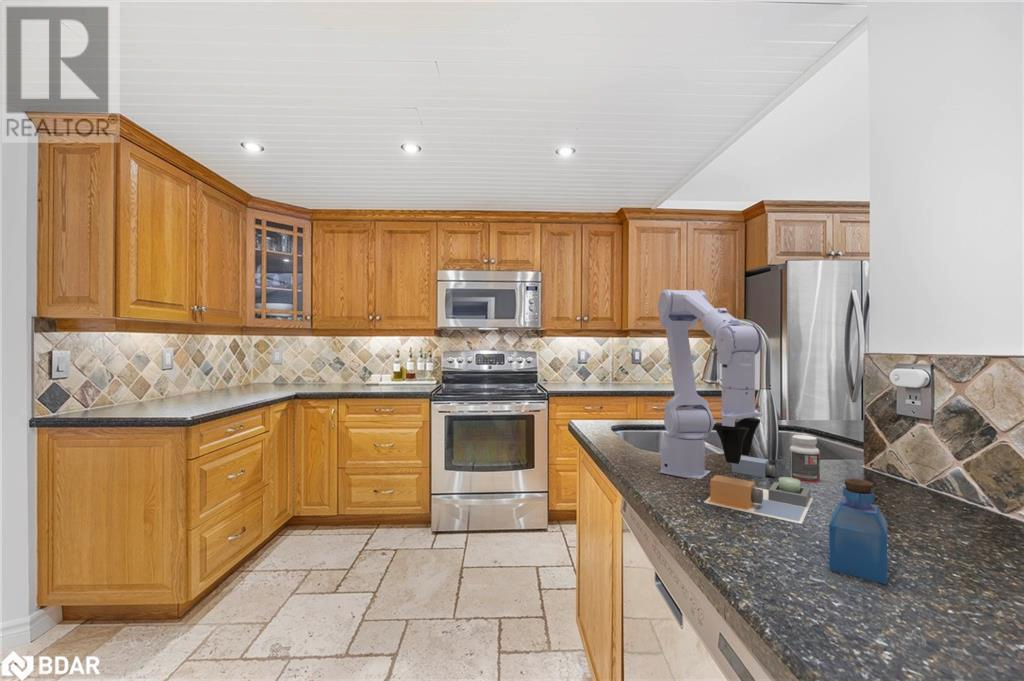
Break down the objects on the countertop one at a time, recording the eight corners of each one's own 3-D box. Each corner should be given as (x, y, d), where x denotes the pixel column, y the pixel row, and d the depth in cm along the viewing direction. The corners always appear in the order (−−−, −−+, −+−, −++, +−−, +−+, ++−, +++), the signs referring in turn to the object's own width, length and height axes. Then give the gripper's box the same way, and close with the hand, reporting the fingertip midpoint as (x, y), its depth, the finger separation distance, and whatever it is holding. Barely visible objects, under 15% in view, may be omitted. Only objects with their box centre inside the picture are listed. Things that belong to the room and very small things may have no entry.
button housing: (768, 500, 88) (768, 489, 88) (774, 491, 93) (774, 481, 93) (806, 507, 84) (806, 496, 84) (810, 498, 89) (810, 488, 89)
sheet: (703, 505, 87) (703, 502, 87) (725, 484, 99) (725, 482, 99) (801, 527, 77) (801, 523, 77) (813, 501, 89) (813, 498, 89)
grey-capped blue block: (731, 475, 107) (731, 458, 107) (736, 471, 110) (736, 454, 110) (772, 482, 102) (772, 464, 102) (776, 478, 105) (776, 460, 105)
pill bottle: (825, 485, 99) (825, 439, 99) (799, 485, 99) (799, 439, 99) (809, 477, 105) (809, 434, 105) (784, 477, 105) (784, 434, 105)
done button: (777, 490, 89) (777, 480, 89) (780, 485, 91) (780, 475, 91) (799, 494, 86) (799, 483, 86) (801, 489, 89) (801, 479, 89)
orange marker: (710, 500, 88) (710, 479, 88) (716, 494, 91) (716, 475, 91) (759, 510, 83) (759, 488, 83) (763, 504, 86) (763, 483, 86)
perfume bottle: (833, 553, 68) (833, 472, 68) (887, 566, 64) (887, 481, 64) (829, 569, 63) (829, 482, 63) (887, 584, 59) (887, 492, 59)
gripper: (752, 392, 79) (752, 470, 79) (769, 386, 90) (769, 454, 90) (709, 390, 84) (709, 463, 84) (731, 384, 95) (731, 449, 95)
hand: (738, 458), depth 87 cm, fingers open, 7 cm apart
